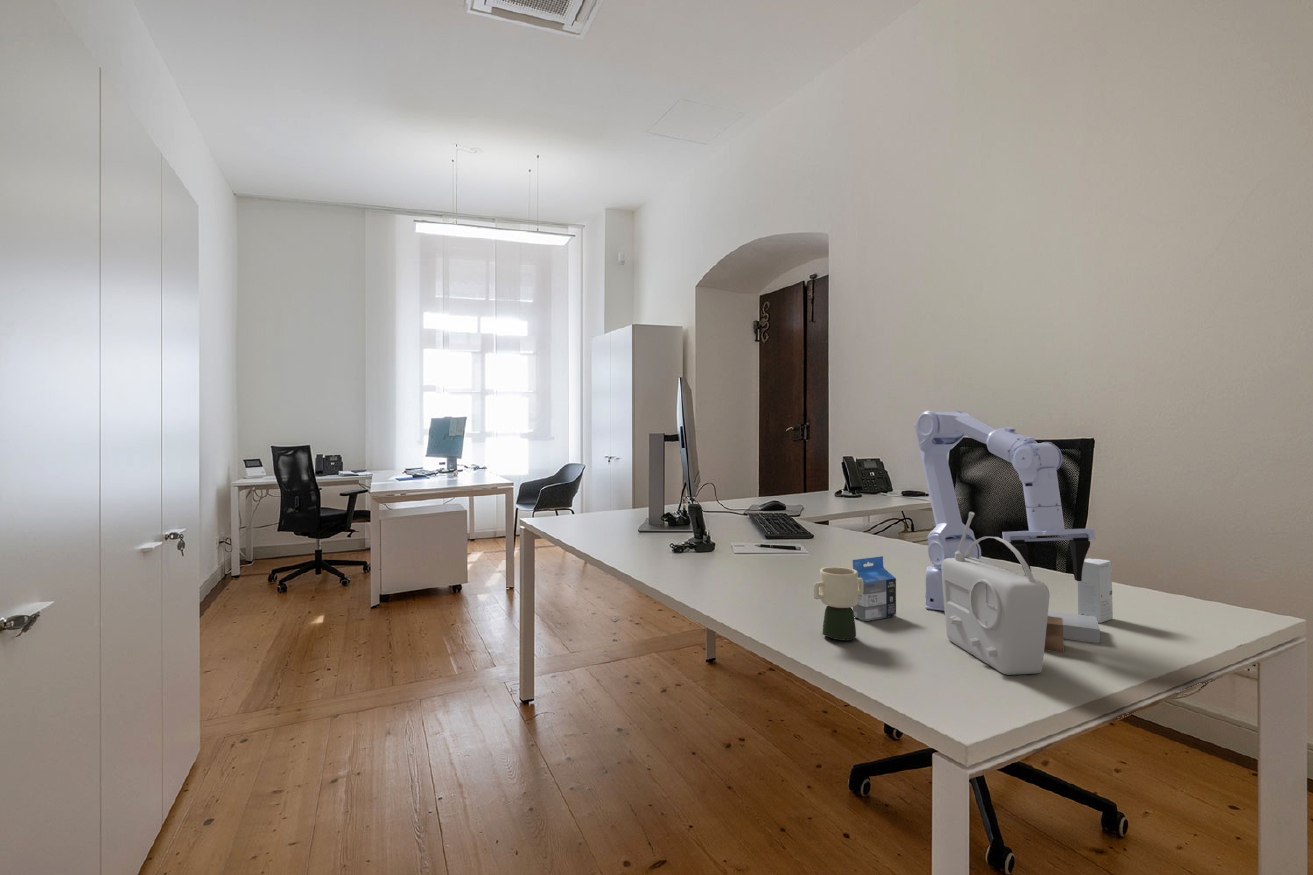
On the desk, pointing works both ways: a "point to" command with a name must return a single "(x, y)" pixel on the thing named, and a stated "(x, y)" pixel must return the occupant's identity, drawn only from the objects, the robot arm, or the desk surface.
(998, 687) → the desk surface
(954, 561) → the radio
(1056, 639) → the walnut cube
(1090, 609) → the skincare box
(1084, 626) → the stoneware block
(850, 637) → the character mug
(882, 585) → the ink cartridge box
